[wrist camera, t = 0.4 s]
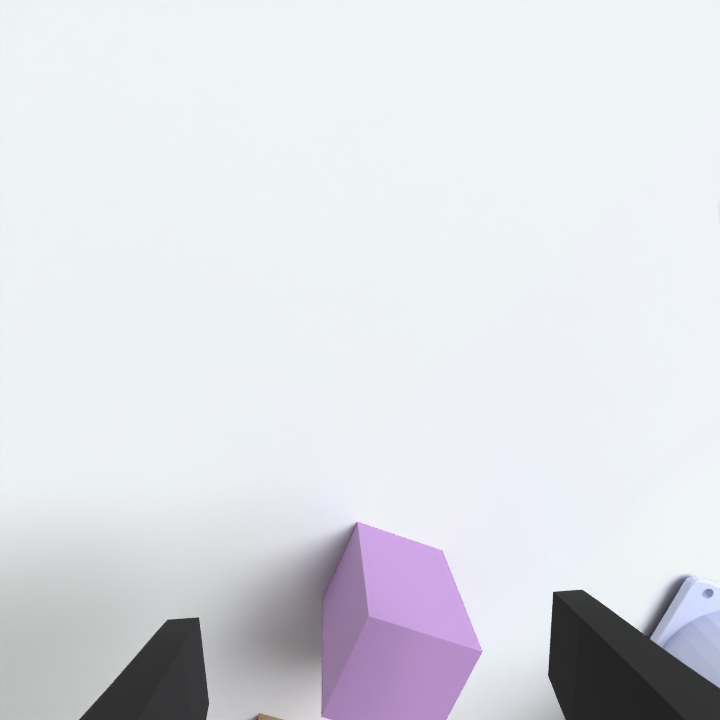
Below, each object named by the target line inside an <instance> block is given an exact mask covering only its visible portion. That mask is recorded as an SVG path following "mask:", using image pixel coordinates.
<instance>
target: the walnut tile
mask: <svg viewBox="0 0 720 720" xmlns="http://www.w3.org/2000/svg"><path fill="white" fill-rule="evenodd" d="M257 720H282V719H278V718H275V717H271V716H267V715H263V714H259V716H258V718H257Z"/></svg>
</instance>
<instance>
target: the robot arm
mask: <svg viewBox="0 0 720 720" xmlns="http://www.w3.org/2000/svg"><path fill="white" fill-rule="evenodd" d="M548 676H549V679H550V681H551V684H552V687H553V689H554V692H555V694H556V697H557V699H558V702H559V705H560V707H561V709H562V712H563V714H564V717H565V719H566V720H720V584H719V583H716V582H713V581H710V580H708V579H705V578H702V577H699V576H691V577H689V578H687V579H686V580H685V581H684V583H683V584H682V586H681V588H680V589H679V591H678V593H677V594H676V596H675V598H674V599H673V601H672V603H671V604H670V606H669V608H668V609H667V611H666V613H665V614H664V616H663V618H662V619H661V621H660V623H659V624H658V626H657V628H656V629H655V631H654V633H653V634H652V636H651V638H650V639H649V638H648V637H647V636H645V635H644V634H643V633H641V632H640V631H638V630H637V629H636V628H634V627H633V626H632V625H630V624H629V623H628V622H626V621H625V620H623V619H622V618H621V617H619V616H618V615H617V614H615V613H614V612H613V611H611V610H610V609H609V608H607V607H606V606H604V605H603V604H602V603H600V602H599V601H598V600H596V599H595V598H593V597H592V596H590V595H589V594H588V593H586V592H585V591H583V590H573V591H559V592H553V605H552V622H551V638H550V655H549V671H548ZM208 706H209V699H208V691H207V682H206V674H205V665H204V657H203V648H202V639H201V631H200V622H199V618H186V619H172V620H167V621H166V622H165V623H164V624H163V625H162V627H161V628H160V629H159V630H158V631H157V632H156V633H155V634H154V636H153V637H152V638H151V639H150V640H149V641H148V643H147V644H146V645H145V646H144V647H143V648H142V650H141V651H140V652H139V653H138V654H137V655H136V656H135V658H134V659H133V660H132V661H131V662H130V663H129V665H128V666H127V667H126V668H125V669H124V670H123V671H122V673H121V674H120V675H119V676H118V677H117V678H116V679H115V681H114V682H113V683H112V684H111V685H110V686H109V687H108V688H107V690H106V691H105V692H104V693H103V694H102V695H101V696H100V697H99V698H98V699H97V701H96V702H95V703H94V704H93V705H92V706H91V707H90V708H89V709H88V711H87V712H86V713H85V714H84V715H83V716H82V717H81V718H80V719H79V720H206V717H207V712H208Z"/></svg>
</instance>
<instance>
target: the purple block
mask: <svg viewBox="0 0 720 720" xmlns="http://www.w3.org/2000/svg"><path fill="white" fill-rule="evenodd" d="M481 653H482V649H481V647H480V644H479V642H478V639H477V637H476V634H475V632H474V629H473V627H472V624H471V622H470V619H469V617H468V614H467V612H466V609H465V607H464V604H463V602H462V599H461V596H460V594H459V591H458V589H457V586H456V584H455V581H454V579H453V576H452V574H451V571H450V569H449V566H448V564H447V561H446V559H445V556H444V554H443V551H442V550H439V549H436V548H433V547H430V546H427V545H424V544H421V543H418V542H415V541H412V540H409V539H406V538H403V537H401V536H398V535H395V534H392V533H389V532H386V531H383V530H380V529H377V528H374V527H371V526H368V525H365V524H362V523H359V522H357V524H356V527H355V529H354V531H353V533H352V535H351V538H350V540H349V542H348V544H347V547H346V549H345V551H344V553H343V555H342V558H341V560H340V562H339V564H338V566H337V569H336V571H335V573H334V575H333V578H332V580H331V582H330V584H329V586H328V589H327V591H326V593H325V595H324V598H323V600H322V711H321V717H325V718H328V719H332V720H446V719H447V717H448V715H449V714H450V712H451V710H452V708H453V706H454V704H455V702H456V700H457V698H458V697H459V695H460V693H461V691H462V689H463V687H464V685H465V683H466V681H467V680H468V678H469V676H470V674H471V672H472V670H473V668H474V666H475V664H476V663H477V661H478V659H479V657H480V655H481Z"/></svg>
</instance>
